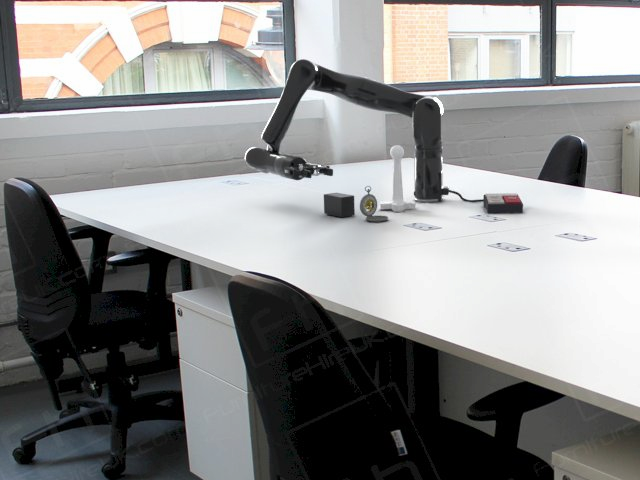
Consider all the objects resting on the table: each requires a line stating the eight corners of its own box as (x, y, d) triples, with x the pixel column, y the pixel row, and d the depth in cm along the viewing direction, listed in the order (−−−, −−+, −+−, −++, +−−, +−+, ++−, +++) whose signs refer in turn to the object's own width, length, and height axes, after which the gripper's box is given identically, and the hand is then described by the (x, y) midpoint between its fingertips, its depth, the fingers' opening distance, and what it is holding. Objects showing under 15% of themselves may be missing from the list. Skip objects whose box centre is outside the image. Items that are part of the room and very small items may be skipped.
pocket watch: (385, 222, 313) (384, 188, 310) (358, 222, 315) (357, 188, 311) (391, 218, 321) (390, 184, 317) (364, 217, 322) (363, 184, 319)
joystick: (415, 207, 338) (414, 144, 331) (416, 211, 330) (415, 146, 324) (380, 208, 337) (379, 144, 331) (380, 212, 330) (379, 147, 323)
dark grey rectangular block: (341, 218, 322) (324, 214, 328) (354, 216, 325) (337, 212, 331) (341, 197, 320) (323, 194, 326) (354, 195, 323) (336, 192, 329)
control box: (487, 201, 324) (483, 192, 337) (487, 215, 325) (483, 205, 339) (523, 201, 324) (517, 191, 338) (522, 215, 325) (517, 204, 339)
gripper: (272, 156, 334) (303, 163, 323) (307, 153, 343) (339, 160, 332) (272, 180, 337) (303, 187, 326) (307, 176, 346) (339, 183, 335)
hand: (321, 173), depth 329 cm, fingers open, 8 cm apart
